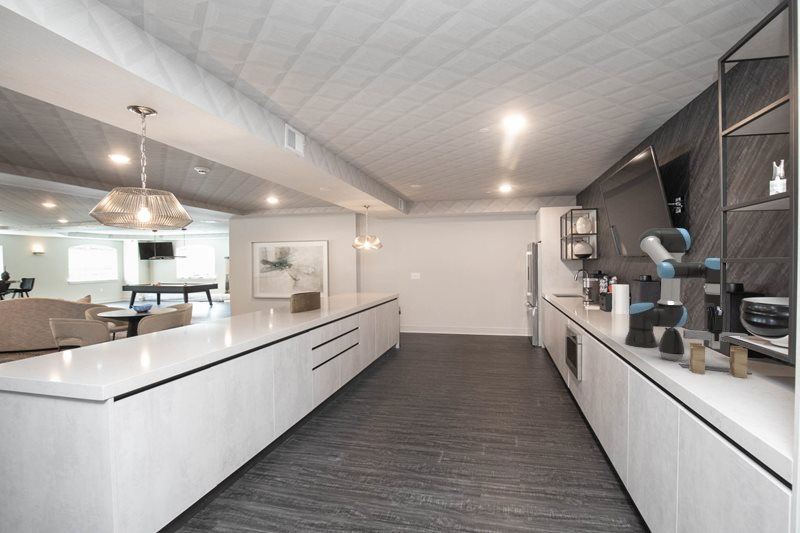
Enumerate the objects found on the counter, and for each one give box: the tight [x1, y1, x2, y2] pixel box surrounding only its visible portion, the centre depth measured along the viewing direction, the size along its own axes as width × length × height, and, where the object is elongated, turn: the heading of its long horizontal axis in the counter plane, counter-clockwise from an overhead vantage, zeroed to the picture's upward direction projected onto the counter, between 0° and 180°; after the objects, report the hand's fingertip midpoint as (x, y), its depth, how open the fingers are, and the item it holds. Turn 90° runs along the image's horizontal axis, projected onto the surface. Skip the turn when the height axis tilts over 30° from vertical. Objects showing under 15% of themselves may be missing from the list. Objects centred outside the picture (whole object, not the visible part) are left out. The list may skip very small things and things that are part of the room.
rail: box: [682, 329, 749, 342], centre depth 175 cm, size 3×22×4 cm, turn 67°
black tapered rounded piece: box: [658, 327, 686, 362], centre depth 192 cm, size 10×10×15 cm
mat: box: [678, 362, 753, 375], centre depth 175 cm, size 7×24×1 cm, turn 67°
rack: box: [689, 342, 749, 379], centre depth 168 cm, size 6×18×12 cm, turn 67°
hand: (714, 347), depth 175 cm, fingers closed on rail, 3 cm apart
